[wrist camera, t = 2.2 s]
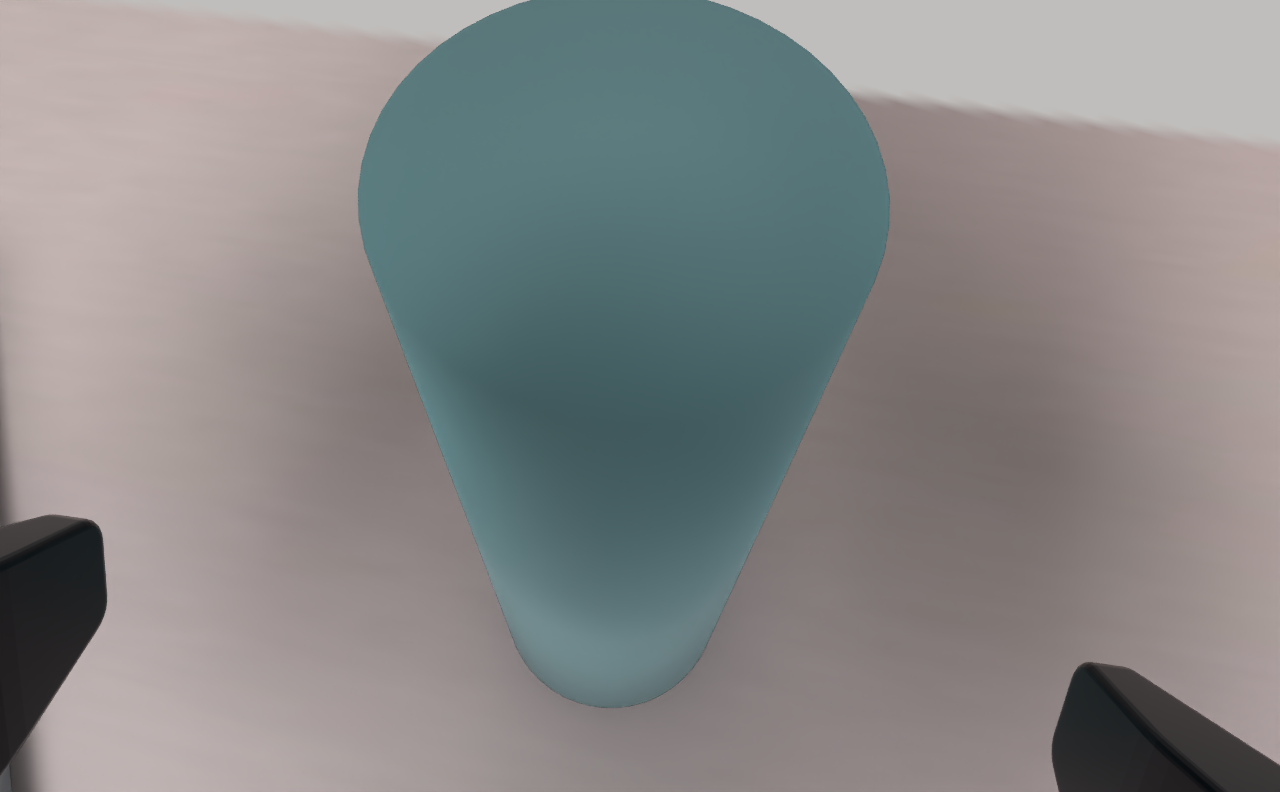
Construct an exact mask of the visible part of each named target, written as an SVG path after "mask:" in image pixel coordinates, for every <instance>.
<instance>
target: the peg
mask: <svg viewBox="0 0 1280 792" xmlns="http://www.w3.org/2000/svg"><path fill="white" fill-rule="evenodd" d="M889 205H890V197H889V190H888V183H887V176H886V169H885V166H884V163H883V159H882V156H881V153H880V150H879V146H878V143H877V141H876V139H875V137H874V135H873V132H872V130H871V128H870V126H869V124H868V122H867V120H866V118H865V116H864V115H863V113H862V111H861V110H860V108H859V107H858V105H857V104H856V102H855V101H854V99H853V98H852V96H851V95H850V93H849V92H848V91H847V90H846V89H845V87H844V86H843V85H842V84H841V83H840V82H839V81H838V79H837V78H836V77H835V76H834V75H833V74H832V72H831V71H830V70H828V69H827V68H826V67H825V66H824V65H823V64H822V63H821V62H820V61H819V60H818V59H816V58H815V57H814V56H813V55H812V54H811V53H810V52H809V51H807V50H806V49H804V48H803V47H802V46H800V45H799V44H797V43H796V42H794V41H793V40H792V39H790V38H789V37H788V36H786V35H785V34H783V33H781V32H780V31H778V30H776V29H774V28H772V27H771V26H769V25H767V24H765V23H763V22H762V21H760V20H758V19H755V18H753V17H751V16H749V15H747V14H744V13H742V12H739V11H737V10H735V9H732V8H730V7H727V6H724V5H721V4H718V3H715V2H711V1H708V0H530V1H527V2H523V3H519V4H517V5H514V6H512V7H509V8H507V9H504V10H501V11H499V12H496V13H494V14H491V15H489V16H487V17H485V18H483V19H482V20H480V21H478V22H476V23H474V24H472V25H470V26H468V27H466V28H465V29H463V30H462V31H460V32H459V33H457V34H455V35H454V36H452V37H451V38H450V39H448V40H447V41H445V42H444V43H442V44H441V45H439V46H438V47H437V48H436V49H435V50H433V51H432V52H431V53H430V54H429V55H428V56H427V57H425V58H424V59H423V60H422V61H421V62H420V63H419V64H417V66H416V67H415V68H414V69H413V70H412V71H411V72H410V73H409V75H408V76H407V77H406V78H405V79H404V80H403V81H402V82H401V84H400V85H399V86H398V87H397V89H396V90H395V92H394V93H393V95H392V96H391V98H390V99H389V101H388V102H387V104H386V105H385V107H384V108H383V110H382V111H381V114H380V116H379V118H378V120H377V122H376V124H375V126H374V128H373V130H372V132H371V135H370V137H369V141H368V144H367V147H366V151H365V154H364V157H363V160H362V165H361V173H360V180H359V187H358V208H359V223H360V228H361V234H362V239H363V244H364V249H365V252H366V254H367V257H368V260H369V263H370V265H371V268H372V271H373V274H374V276H375V279H376V282H377V284H378V287H379V289H380V292H381V295H382V297H383V300H384V302H385V305H386V308H387V310H388V313H389V316H390V318H391V321H392V323H393V326H394V329H395V331H396V334H397V336H398V339H399V342H400V344H401V347H402V350H403V352H404V355H405V357H406V360H407V363H408V365H409V368H410V370H411V373H412V376H413V378H414V381H415V384H416V386H417V389H418V391H419V394H420V397H421V399H422V402H423V404H424V407H425V410H426V412H427V415H428V418H429V420H430V423H431V425H432V428H433V431H434V433H435V436H436V439H437V441H438V444H439V446H440V449H441V452H442V454H443V457H444V459H445V462H446V465H447V467H448V470H449V473H450V475H451V478H452V480H453V483H454V486H455V488H456V491H457V493H458V496H459V499H460V501H461V504H462V507H463V509H464V512H465V514H466V517H467V520H468V522H469V525H470V527H471V530H472V533H473V535H474V538H475V541H476V543H477V546H478V548H479V551H480V554H481V556H482V559H483V561H484V564H485V567H486V569H487V572H488V575H489V577H490V580H491V582H492V585H493V588H494V590H495V593H496V595H497V598H498V601H499V603H500V606H501V609H502V611H503V614H504V616H505V619H506V622H507V624H508V627H509V630H510V632H511V635H512V637H513V640H514V643H515V645H516V648H517V650H518V651H519V653H520V655H521V657H522V659H523V660H524V662H525V663H526V665H527V666H528V667H529V669H530V670H531V671H532V672H533V673H534V674H535V676H536V677H537V678H538V679H539V680H540V681H541V682H543V683H544V684H545V685H546V686H548V687H549V688H550V689H551V690H553V691H555V692H556V693H558V694H560V695H562V696H563V697H565V698H568V699H570V700H573V701H575V702H578V703H581V704H585V705H589V706H595V707H602V708H619V707H626V706H633V705H636V704H640V703H643V702H647V701H649V700H651V699H653V698H656V697H658V696H660V695H662V694H663V693H665V692H666V691H668V690H670V689H671V688H673V687H674V686H675V685H676V684H677V683H679V682H680V681H681V680H682V679H683V678H684V677H685V676H686V675H687V674H688V673H689V672H690V671H691V670H692V668H693V667H694V665H695V664H696V663H697V661H698V660H699V658H700V656H701V655H702V653H703V651H704V649H705V647H706V645H707V643H708V641H709V638H710V636H711V634H712V632H713V630H714V628H715V625H716V623H717V621H718V619H719V617H720V615H721V612H722V610H723V608H724V606H725V604H726V602H727V600H728V597H729V595H730V593H731V591H732V589H733V587H734V584H735V582H736V580H737V578H738V576H739V574H740V571H741V569H742V567H743V565H744V563H745V561H746V558H747V556H748V554H749V552H750V550H751V548H752V545H753V543H754V541H755V539H756V537H757V535H758V532H759V530H760V528H761V526H762V524H763V522H764V520H765V517H766V515H767V513H768V511H769V509H770V507H771V504H772V502H773V500H774V498H775V496H776V494H777V491H778V489H779V487H780V485H781V483H782V481H783V478H784V476H785V474H786V472H787V470H788V468H789V465H790V463H791V461H792V459H793V457H794V455H795V452H796V450H797V448H798V446H799V444H800V442H801V439H802V437H803V435H804V433H805V431H806V429H807V427H808V424H809V422H810V420H811V418H812V416H813V414H814V411H815V409H816V407H817V405H818V403H819V401H820V398H821V396H822V394H823V392H824V390H825V388H826V385H827V383H828V381H829V379H830V377H831V375H832V372H833V370H834V368H835V366H836V364H837V362H838V359H839V357H840V355H841V353H842V351H843V349H844V347H845V344H846V342H847V340H848V338H849V336H850V334H851V331H852V329H853V327H854V325H855V323H856V321H857V318H858V316H859V314H860V312H861V310H862V308H863V305H864V303H865V301H866V299H867V297H868V295H869V292H870V290H871V288H872V286H873V284H874V281H875V279H876V276H877V273H878V270H879V267H880V264H881V262H882V259H883V256H884V252H885V246H886V241H887V235H888V230H889Z"/></svg>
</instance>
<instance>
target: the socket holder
mask: <svg viewBox="0 0 1280 792" xmlns="http://www.w3.org/2000/svg"><path fill="white" fill-rule="evenodd" d="M0 792H12V790H11V777H10V765H8V767H7V768H6V769H5V770H4V772H3V773H2V774H1V776H0Z"/></svg>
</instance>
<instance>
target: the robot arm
mask: <svg viewBox="0 0 1280 792" xmlns="http://www.w3.org/2000/svg"><path fill="white" fill-rule="evenodd" d="M106 606H107V587H106V573H105V560H104V546H103V537H102V532H101V530H100V528H99V526H98V525H97V524H96V523H95V522H94V521H92V520H88V519H83V518H76V517H69V516H62V515H45V516H41V517H37V518H33V519H30V520H26V521H22V522H18V523H14V524H10V525H6V526H2V527H0V776H1V774H2V773H3V772H4V770H5V769H6V768H7V767H8V765H9V764H10V763H11V761H12V760H13V758H14V757H15V755H16V754H17V752H18V751H19V750H20V748H21V747H22V745H23V744H24V742H25V741H26V739H27V738H28V736H29V735H30V733H31V732H32V730H33V729H34V727H35V726H36V724H37V722H38V721H39V719H40V718H41V716H42V715H43V713H44V712H45V710H46V709H47V707H48V705H49V704H50V702H51V701H52V699H53V698H54V696H55V695H56V693H57V691H58V690H59V688H60V687H61V685H62V684H63V682H64V681H65V679H66V678H67V676H68V674H69V673H70V671H71V670H72V668H73V667H74V665H75V664H76V662H77V660H78V659H79V657H80V656H81V654H82V653H83V651H84V650H85V648H86V647H87V645H88V643H89V642H90V640H91V639H92V637H93V636H94V634H95V633H96V631H97V629H98V628H99V626H100V624H101V622H102V620H103V617H104V614H105V611H106ZM1052 762H1053V768H1054V772H1055V777H1056V781H1057V785H1058V790H1059V792H1280V765H1279V764H1277V763H1276V762H1274V761H1272V760H1271V759H1269V758H1268V757H1266V756H1265V755H1263V754H1262V753H1260V752H1259V751H1257V750H1255V749H1254V748H1252V747H1251V746H1249V745H1248V744H1246V743H1245V742H1243V741H1242V740H1240V739H1238V738H1237V737H1235V736H1234V735H1232V734H1231V733H1229V732H1228V731H1226V730H1225V729H1223V728H1221V727H1220V726H1218V725H1217V724H1215V723H1214V722H1212V721H1211V720H1209V719H1208V718H1206V717H1204V716H1203V715H1201V714H1200V713H1198V712H1197V711H1195V710H1194V709H1192V708H1191V707H1189V706H1187V705H1186V704H1184V703H1183V702H1181V701H1180V700H1178V699H1177V698H1175V697H1174V696H1172V695H1170V694H1169V693H1167V692H1166V691H1164V690H1163V689H1161V688H1160V687H1158V686H1157V685H1155V684H1153V683H1152V682H1150V681H1149V680H1147V679H1146V678H1144V677H1143V676H1141V675H1140V674H1138V673H1136V672H1135V671H1133V670H1131V669H1129V668H1126V667H1122V666H1114V665H1107V664H1100V663H1093V662H1085V663H1083V664H1082V665H1080V666H1078V668H1077V669H1076V671H1075V672H1074V674H1073V676H1072V679H1071V682H1070V685H1069V688H1068V692H1067V695H1066V698H1065V701H1064V704H1063V707H1062V710H1061V714H1060V717H1059V720H1058V723H1057V726H1056V729H1055V732H1054V736H1053V742H1052Z"/></svg>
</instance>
